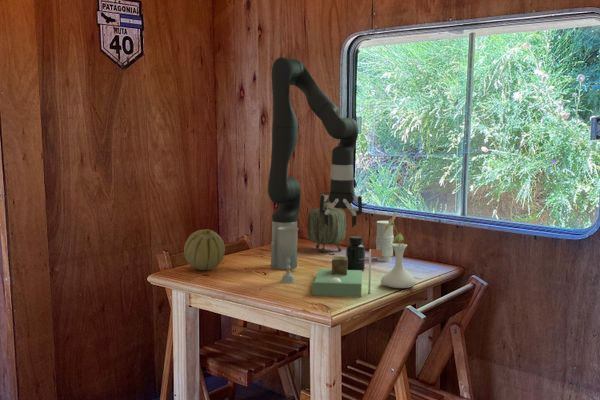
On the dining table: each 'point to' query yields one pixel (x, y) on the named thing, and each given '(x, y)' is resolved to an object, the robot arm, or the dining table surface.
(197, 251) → the cantaloupe
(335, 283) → the green
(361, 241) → the supplement bottle
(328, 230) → the tabletop clock
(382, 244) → the candle
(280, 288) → the dining table surface
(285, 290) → the dining table surface
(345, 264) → the wooden channel cradle
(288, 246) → the chalice
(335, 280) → the ball
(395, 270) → the flower in vase
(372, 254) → the flag pin
